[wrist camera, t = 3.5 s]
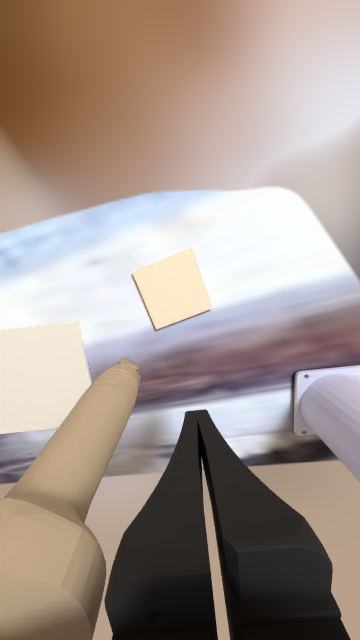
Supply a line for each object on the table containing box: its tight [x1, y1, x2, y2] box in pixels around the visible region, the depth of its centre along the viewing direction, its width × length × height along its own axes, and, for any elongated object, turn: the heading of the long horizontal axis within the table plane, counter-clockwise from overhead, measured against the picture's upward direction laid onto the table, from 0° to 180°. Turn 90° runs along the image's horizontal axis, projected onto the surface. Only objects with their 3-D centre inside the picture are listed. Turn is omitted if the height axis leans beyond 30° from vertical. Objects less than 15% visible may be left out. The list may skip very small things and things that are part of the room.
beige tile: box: [132, 248, 212, 330], centre depth 18 cm, size 6×6×1 cm
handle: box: [0, 358, 141, 640], centre depth 12 cm, size 5×6×15 cm
